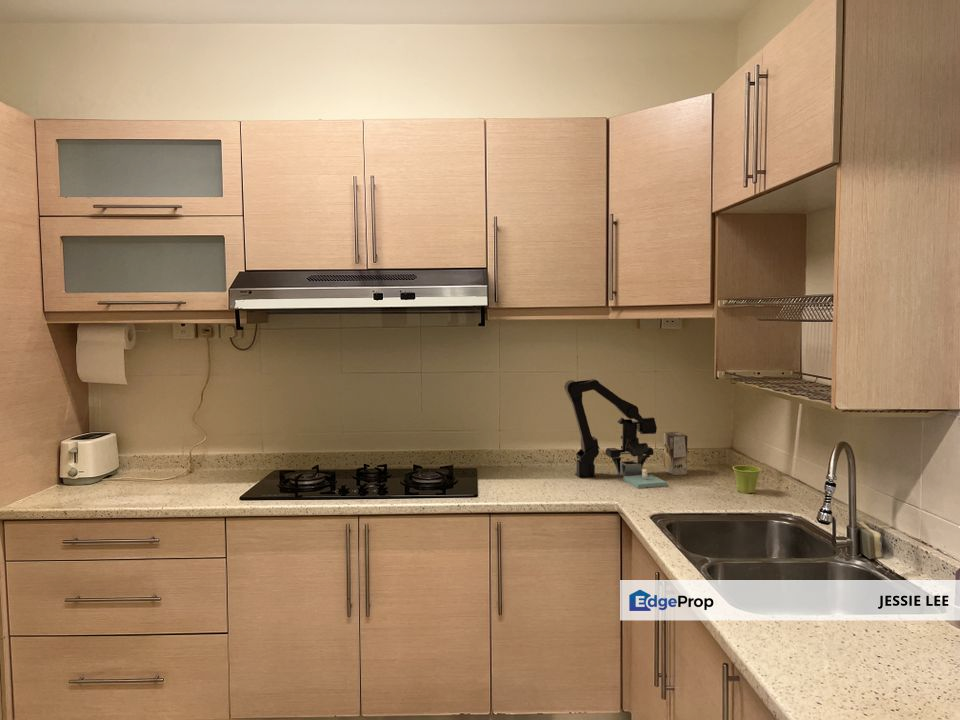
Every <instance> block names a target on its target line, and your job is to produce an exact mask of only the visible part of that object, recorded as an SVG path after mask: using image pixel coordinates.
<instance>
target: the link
mask: <svg viewBox="0 0 960 720" xmlns="http://www.w3.org/2000/svg"><path fill="white" fill-rule="evenodd" d="M617 474H618V475H619V476H620V477H621V476H622V477H623V478H624V476H637V475H642V469H641V464H640V463H638V461H636V460H620V473H618V472H617Z"/></svg>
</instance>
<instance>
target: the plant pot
mask: <svg viewBox="0 0 960 720" xmlns="http://www.w3.org/2000/svg"><path fill="white" fill-rule="evenodd" d="M732 469H733V472H734V476H735V485H736V490H737V492H739V493H742V494H748V495H749V494H755V493H756V490H757V483H758V478H759V475H760V472H761V471H762V469H761V468H760V467H757V466H753V465H746V464H745V465H743V464H740V465H734V466H732Z"/></svg>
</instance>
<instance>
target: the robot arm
mask: <svg viewBox="0 0 960 720" xmlns="http://www.w3.org/2000/svg"><path fill="white" fill-rule="evenodd" d="M563 387H564V391H565V394H566V395H567V398H568V399H569V401H570V402H571V405H572V409H573V411H574V416H575V419H576V420H575V421H576V424H577V426H578V431H579V434H580V449H579V450H578V451H577V452H576V453H575V456H576V459H577V460H576V472H574V475H575V476H576V477H578V478H580V479H586V478H587V479H588V478H596V466H595V465H596V464H595V462H594V461H595V459H596V458H597V457H598V456H599V454H600V450H601V447H600V446H599V440H598V438H597V437H595V436H592V432H591V430H590V426H589V423H588V418H587V414H586V412H585V407H584V404H583V393H585V392H588V391H594V392H595V393H597V394H599V396H601V397H602V398H604V399H605V400H607V402H610V403H611V404H612V405H613V406H614V407H615V408H616V410H617V411H618V412H619V413H620V414H622V415H623V416H624V417H626V418H627V419H625V418H624V417H622V416H621V417H620V418H619V419H618V420H617V423H618V424H619V425H622V428H621V429H622V435H621V436H620V439H622V440H621V441H622V442H621V443H622V444H621V445H620V449H618V448H616V447H607V448H606V449H605V456H607V457H609V458H610V459H612V462H613V463H614V466H615V468H616V470H617V471H616V472H617V474H618V473H620V461H622V457H620V456H621V455H631V456H632V457H637V462H638V463H640V464H641V470H643V466H644V464H645V461H646V460H647V459H648V458H651V456H654V448H653V447H651V446H649V444H648V443H647V442H642V443H641V442H640V441H639V437H638V433H639V434H640V435H655V434H657V430H658V429H657V423H656V421H655V417H652V416H649V417H642V415H641V414H640V411H639V410H640V409H639V407H638V406H637V405H635V404H633V403H631V402H628V401H626V400H625V399H622V398H621V397H619V396H618V395H617V394H616V393H614V392H613V391H612V390H610V389H609V388H607V387H606V386H604V385H603V384H601V383H600V382H599V381H598V380H597V379H596V378H595V379H594V378H591V379H587V380H584V379H583V380H578V381H576V380H573V379H570V380H567V381H566V382H565V383H564V386H563ZM632 419H633V420H634V421H633V420H632Z"/></svg>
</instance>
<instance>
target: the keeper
mask: <svg viewBox="0 0 960 720" xmlns="http://www.w3.org/2000/svg"><path fill="white" fill-rule="evenodd" d="M648 473H649V472H648V469H646V468H645V469H644V468H642V469H641V475H637V476H624V477H623V481H624V482H625V483H628V484H629V483H630V484H629V485H631V484H632V485H631V486H633V487H635V488H636V489H646V487H648V488H660V487H667V486H668V482H667V481H665V480H663V479H662V478H659V477H657V476H655V475H653V474H648Z"/></svg>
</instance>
